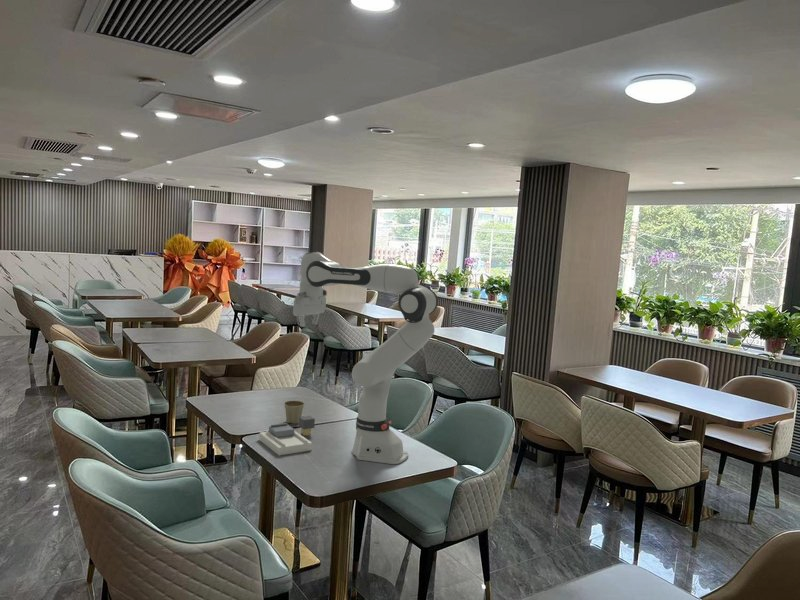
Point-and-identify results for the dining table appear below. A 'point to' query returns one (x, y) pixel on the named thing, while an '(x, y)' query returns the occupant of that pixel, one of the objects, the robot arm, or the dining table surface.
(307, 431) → the plug
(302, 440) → the socket plate
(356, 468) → the dining table surface
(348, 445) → the dining table surface
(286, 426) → the cover
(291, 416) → the flower pot
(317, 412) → the dining table surface
